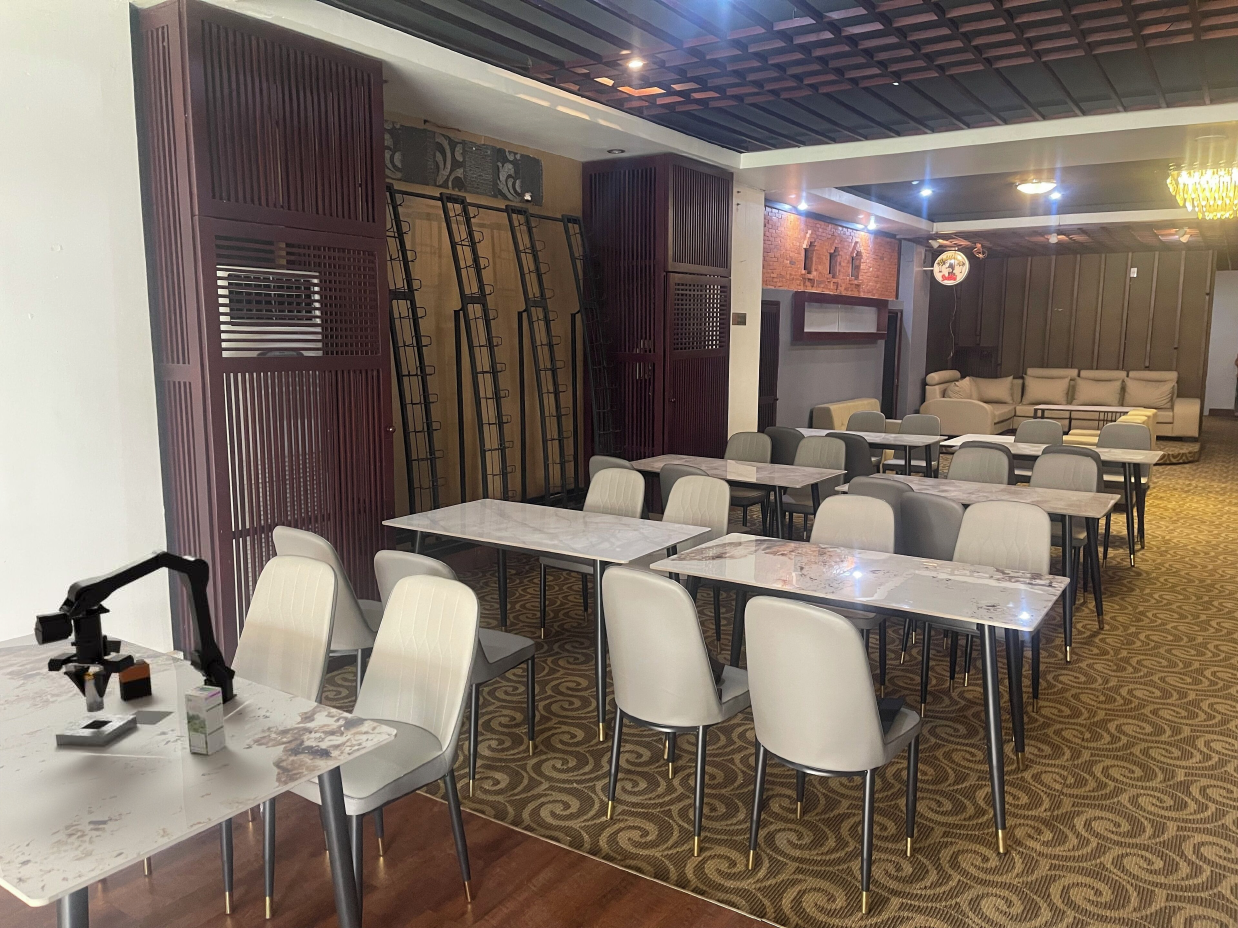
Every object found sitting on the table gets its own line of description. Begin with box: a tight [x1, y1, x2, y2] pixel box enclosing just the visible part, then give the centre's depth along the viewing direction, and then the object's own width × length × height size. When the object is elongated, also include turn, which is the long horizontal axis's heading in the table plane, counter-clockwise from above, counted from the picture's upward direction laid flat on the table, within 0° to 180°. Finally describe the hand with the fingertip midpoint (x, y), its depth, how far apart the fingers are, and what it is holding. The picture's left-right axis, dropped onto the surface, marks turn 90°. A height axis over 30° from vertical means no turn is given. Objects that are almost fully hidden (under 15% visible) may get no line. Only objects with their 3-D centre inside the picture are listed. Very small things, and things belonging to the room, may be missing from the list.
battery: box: [117, 658, 153, 702], centre depth 241 cm, size 4×7×10 cm, turn 133°
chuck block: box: [55, 713, 138, 748], centre depth 217 cm, size 12×12×3 cm
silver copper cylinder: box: [83, 670, 105, 713], centre depth 216 cm, size 4×4×9 cm
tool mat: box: [130, 709, 174, 726], centre depth 227 cm, size 10×8×1 cm
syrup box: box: [184, 684, 227, 756], centre depth 208 cm, size 6×6×14 cm
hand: (94, 696), depth 216 cm, fingers closed on silver copper cylinder, 4 cm apart
